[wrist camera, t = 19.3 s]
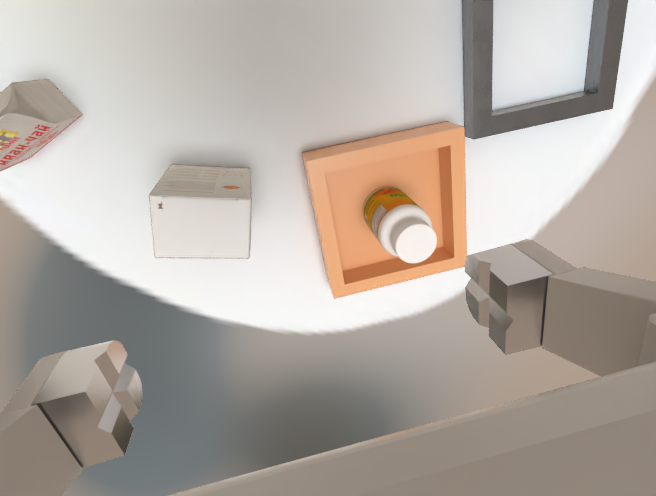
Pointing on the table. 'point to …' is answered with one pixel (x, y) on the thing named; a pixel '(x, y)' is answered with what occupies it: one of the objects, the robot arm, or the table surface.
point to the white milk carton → (31, 119)
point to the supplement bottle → (400, 224)
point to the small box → (202, 212)
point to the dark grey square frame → (593, 99)
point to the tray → (382, 171)
